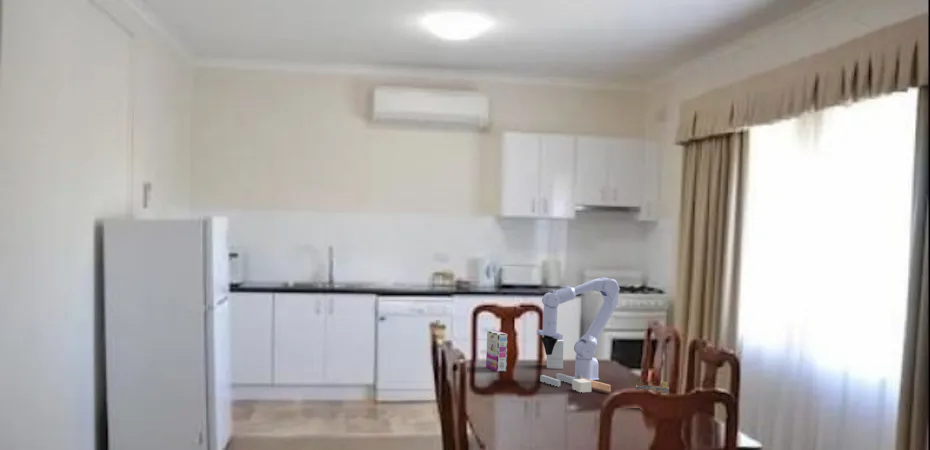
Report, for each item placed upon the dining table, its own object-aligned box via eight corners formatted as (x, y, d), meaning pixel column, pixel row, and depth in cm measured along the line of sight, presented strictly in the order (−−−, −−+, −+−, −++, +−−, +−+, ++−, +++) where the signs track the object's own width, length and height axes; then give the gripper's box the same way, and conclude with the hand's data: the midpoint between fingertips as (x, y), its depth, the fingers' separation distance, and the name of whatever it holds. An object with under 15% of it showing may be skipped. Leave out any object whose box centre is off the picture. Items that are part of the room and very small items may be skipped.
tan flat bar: (577, 384, 301) (577, 375, 301) (579, 383, 302) (579, 374, 302) (608, 393, 288) (608, 383, 288) (610, 392, 289) (611, 383, 289)
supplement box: (562, 365, 339) (563, 338, 339) (562, 369, 332) (563, 340, 332) (546, 365, 340) (546, 337, 340) (546, 368, 333) (547, 340, 332)
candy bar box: (507, 371, 323) (508, 333, 323) (497, 372, 321) (498, 334, 321) (495, 366, 333) (496, 329, 333) (485, 367, 331) (486, 330, 331)
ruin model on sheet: (667, 407, 271) (668, 381, 271) (668, 409, 268) (669, 382, 268) (635, 405, 273) (636, 379, 273) (635, 407, 270) (636, 380, 270)
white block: (582, 388, 296) (583, 378, 296) (591, 392, 291) (591, 381, 291) (572, 389, 294) (572, 379, 294) (580, 393, 289) (580, 382, 289)
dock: (559, 378, 312) (559, 373, 312) (576, 384, 302) (576, 378, 302) (540, 381, 306) (540, 375, 306) (557, 386, 297) (557, 380, 297)
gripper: (531, 319, 313) (530, 352, 313) (553, 324, 301) (552, 358, 301) (544, 319, 317) (543, 351, 317) (567, 324, 305) (565, 357, 305)
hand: (548, 354), depth 310 cm, fingers closed
